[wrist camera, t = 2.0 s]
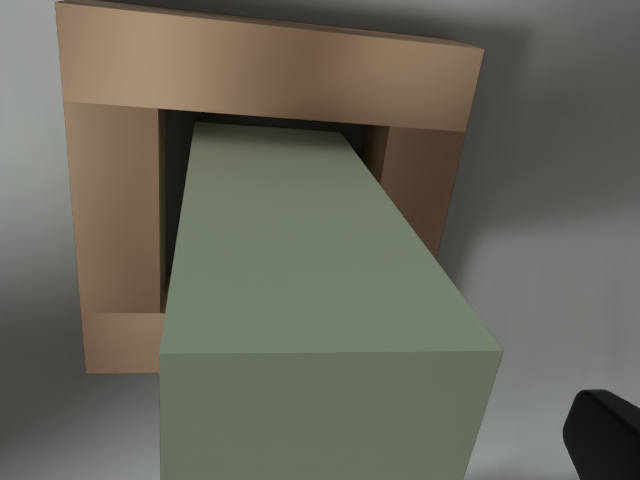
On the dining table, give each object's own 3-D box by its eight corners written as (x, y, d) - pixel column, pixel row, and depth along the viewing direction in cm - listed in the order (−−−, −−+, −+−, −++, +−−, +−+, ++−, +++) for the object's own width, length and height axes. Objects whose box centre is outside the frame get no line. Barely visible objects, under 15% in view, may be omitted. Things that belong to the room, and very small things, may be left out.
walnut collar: (99, 331, 17) (85, 374, 15) (77, -3, 13) (55, 2, 11) (392, 331, 19) (411, 368, 17) (452, 39, 15) (484, 49, 13)
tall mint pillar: (192, 254, 16) (162, 591, 8) (194, 121, 15) (158, 354, 6) (323, 258, 17) (435, 566, 8) (340, 132, 15) (503, 350, 7)
